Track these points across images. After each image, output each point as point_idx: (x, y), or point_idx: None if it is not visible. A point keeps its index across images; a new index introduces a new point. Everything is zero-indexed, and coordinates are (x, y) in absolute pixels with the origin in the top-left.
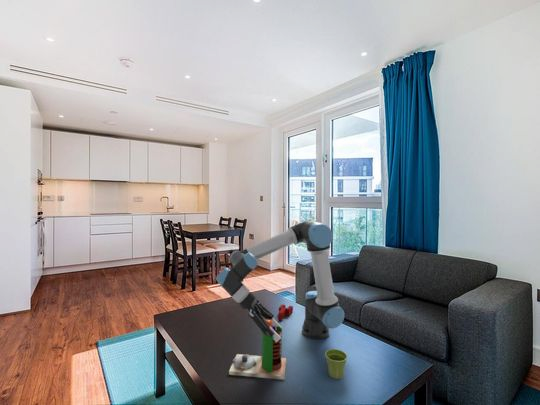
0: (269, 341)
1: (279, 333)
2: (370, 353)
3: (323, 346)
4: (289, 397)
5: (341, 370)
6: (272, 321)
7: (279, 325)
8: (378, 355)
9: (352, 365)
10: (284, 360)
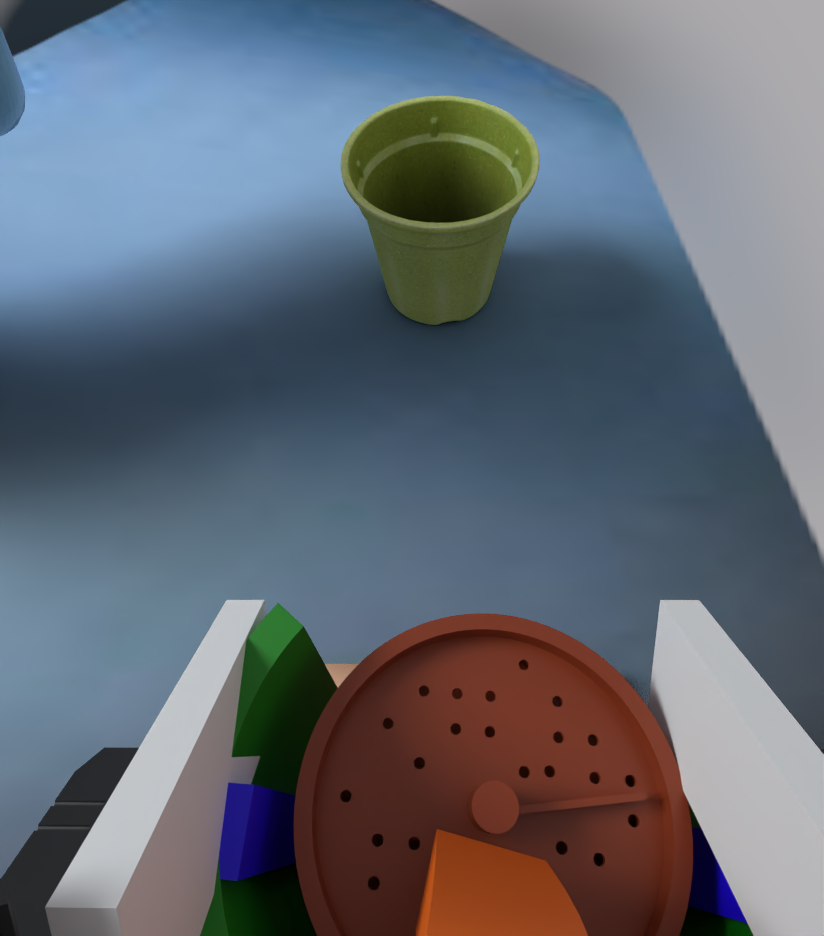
0: None
1: (392, 670)
2: (175, 97)
3: (50, 347)
4: (809, 605)
5: (491, 209)
6: (164, 900)
7: (228, 660)
8: (200, 68)
9: (318, 193)
10: (339, 684)
